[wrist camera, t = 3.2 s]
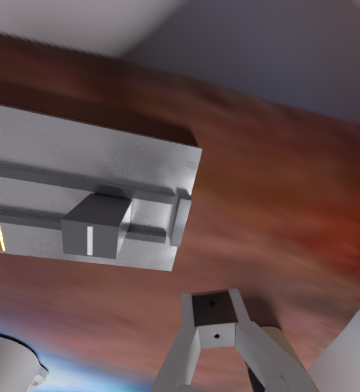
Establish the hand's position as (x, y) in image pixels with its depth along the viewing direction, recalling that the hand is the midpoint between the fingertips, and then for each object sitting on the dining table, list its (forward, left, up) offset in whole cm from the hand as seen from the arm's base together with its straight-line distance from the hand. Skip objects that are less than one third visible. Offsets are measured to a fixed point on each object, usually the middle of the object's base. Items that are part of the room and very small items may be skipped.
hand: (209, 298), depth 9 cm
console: (-7, +12, -10) cm, 17 cm away
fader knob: (-4, +7, -8) cm, 11 cm away
